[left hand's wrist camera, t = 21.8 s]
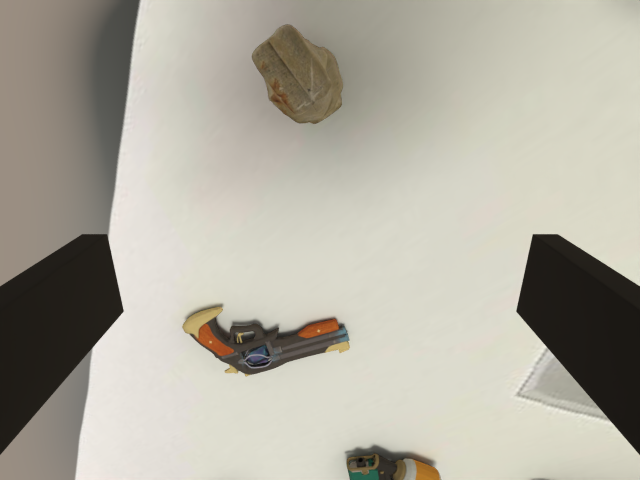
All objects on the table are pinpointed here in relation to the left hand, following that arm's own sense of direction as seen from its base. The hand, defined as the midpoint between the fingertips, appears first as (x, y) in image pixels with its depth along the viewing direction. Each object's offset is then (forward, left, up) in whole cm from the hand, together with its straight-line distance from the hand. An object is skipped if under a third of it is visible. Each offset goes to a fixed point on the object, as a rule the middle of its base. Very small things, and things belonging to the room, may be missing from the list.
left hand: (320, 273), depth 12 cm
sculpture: (-5, -3, -31) cm, 31 cm away
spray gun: (+46, +25, -31) cm, 61 cm away
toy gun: (+24, +1, -31) cm, 39 cm away
